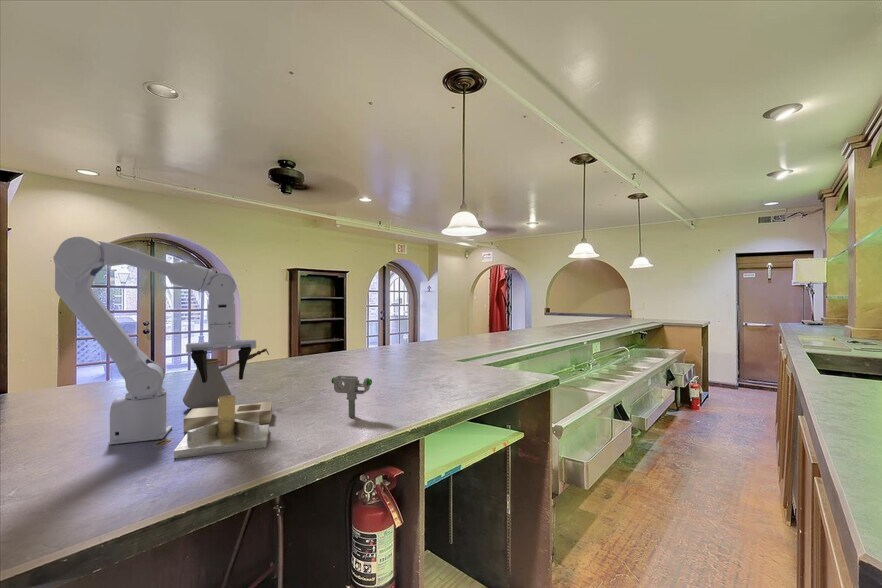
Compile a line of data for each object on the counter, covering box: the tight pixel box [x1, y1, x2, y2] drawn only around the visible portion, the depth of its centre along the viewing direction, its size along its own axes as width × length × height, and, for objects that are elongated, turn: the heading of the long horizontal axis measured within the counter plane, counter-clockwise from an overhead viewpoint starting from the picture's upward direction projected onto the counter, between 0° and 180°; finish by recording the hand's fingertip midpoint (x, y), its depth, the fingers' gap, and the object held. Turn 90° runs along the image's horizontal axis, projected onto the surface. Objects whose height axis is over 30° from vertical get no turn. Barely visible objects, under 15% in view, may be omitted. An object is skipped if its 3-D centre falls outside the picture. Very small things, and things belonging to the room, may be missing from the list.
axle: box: [218, 394, 236, 438], centre depth 83 cm, size 3×3×8 cm
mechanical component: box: [331, 375, 373, 418], centre depth 100 cm, size 3×10×10 cm, turn 79°
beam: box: [183, 401, 273, 433], centre depth 96 cm, size 18×8×3 cm, turn 111°
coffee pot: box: [182, 348, 270, 411], centre depth 111 cm, size 21×12×15 cm, turn 123°
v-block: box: [173, 419, 270, 459], centre depth 82 cm, size 16×10×4 cm, turn 110°
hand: (223, 380), depth 94 cm, fingers open, 7 cm apart
